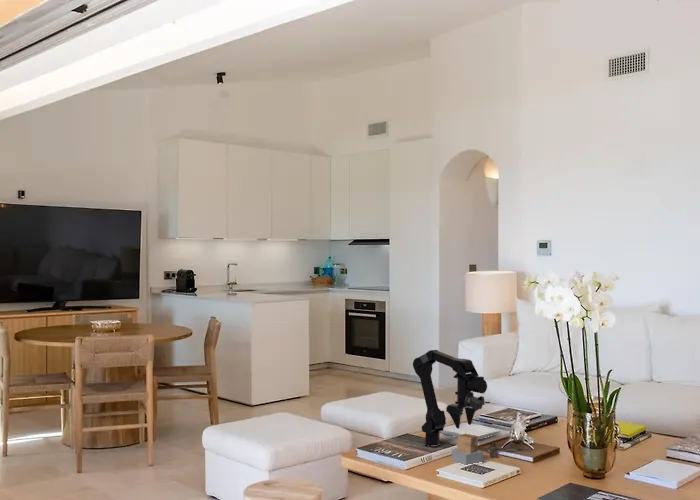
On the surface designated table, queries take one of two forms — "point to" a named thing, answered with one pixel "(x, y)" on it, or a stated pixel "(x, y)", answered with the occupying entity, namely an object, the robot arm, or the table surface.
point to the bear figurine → (493, 449)
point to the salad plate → (466, 427)
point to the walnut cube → (467, 443)
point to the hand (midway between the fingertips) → (463, 426)
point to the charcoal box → (467, 457)
